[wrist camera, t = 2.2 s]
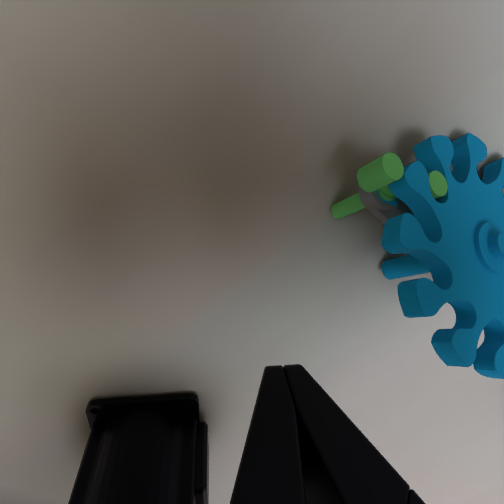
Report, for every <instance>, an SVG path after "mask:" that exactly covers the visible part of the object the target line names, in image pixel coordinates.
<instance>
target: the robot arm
mask: <svg viewBox="0 0 504 504" xmlns="http://www.w3.org/2000/svg"><path fill="white" fill-rule="evenodd" d="M86 414H87V417H88V421H89V425H90V428H91V432H90V435H89V438H88V442H87V445H86V448H85V451H84V455H83V458H82V461H81V464H80V467H79V471H78V474H77V477H76V480H75V484H74V487H73V490H72V493H71V497H70V500H69V503H68V504H208V503H209V444H208V425H207V424H206V423H205V422H204V421H203V422H200V410H199V398H198V396H197V395H195V394H178V395H161V396H145V397H129V398H112V399H96V400H91V401H90V402H89V403H88V405H87V408H86ZM230 504H425V503H424V501H423V500H422V499H421V498H420V497H419V496H418V495H417V494H416V492H415V491H414V490H412V489H410V486H409V485H408V484H407V483H406V481H405V480H404V479H403V478H402V477H401V476H400V475H399V474H398V473H397V471H396V470H395V469H394V468H393V467H392V466H391V465H390V464H389V462H388V461H387V460H386V459H385V458H384V457H383V456H382V455H381V453H380V452H379V451H378V450H377V449H376V448H375V447H374V446H373V445H372V443H371V442H370V441H369V440H368V439H367V438H366V437H365V436H364V434H363V433H362V432H361V431H360V430H359V429H358V428H357V427H356V426H355V424H354V423H353V422H352V421H351V420H350V419H349V418H348V417H347V415H346V414H345V413H344V412H343V411H342V410H341V409H340V408H339V406H338V405H337V404H336V403H335V402H334V401H333V400H332V399H331V398H330V396H329V395H328V394H327V393H326V392H325V391H324V390H323V389H322V387H321V386H320V385H319V384H318V383H317V382H316V381H315V380H314V379H313V377H312V376H311V375H310V374H309V373H308V372H307V371H306V370H305V368H304V367H303V366H302V365H300V364H294V365H285V366H284V367H282V366H281V365H277V366H266V367H265V369H264V373H263V376H262V380H261V384H260V388H259V392H258V396H257V400H256V404H255V407H254V411H253V415H252V419H251V423H250V427H249V431H248V435H247V438H246V442H245V446H244V450H243V454H242V458H241V462H240V466H239V469H238V473H237V477H236V481H235V485H234V489H233V493H232V497H231V500H230Z"/></svg>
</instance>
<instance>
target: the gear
mask: <svg viewBox="0 0 504 504" xmlns="http://www.w3.org/2000/svg"><path fill="white" fill-rule="evenodd" d="M414 153H415V157H416V159H417V161H415V162H413V163H411V164H409V165H407V166H405V167H403V164H402V161H401V160H400V158H399V157H398V156H397V155H396V154H394V153H391V152H388V153H386V154H384V155H382V156H380V157H379V158H377V159H375V160H373V161H372V162H370V163H368V164H366V165H365V166H363V167H361V168H360V169H359V170H358V172H357V181H358V184H359V187H358V193H356V194H354V195H352V196H350V197H348V198H346V199H344V200H342V201H340V202H338V203H336V204H334V205H333V206H332V207H331V213H332V215H333V217H334V218H336V219H341V218H343V217H345V216H348V215H350V214H352V213H355V212H357V211H359V210H362V209H364V208H366V209H367V210H368V211H369V212H370V213H371V214H373V215H374V216H375V217H376V218H377V219H378V220H379V221H380V222H381V223H382V224H384V228H383V235H382V247H383V248H384V249H385V250H386V251H387V252H389V253H391V254H399V253H401V254H407V255H405V256H401V257H397V258H393V259H389V260H386V261H384V262H383V264H382V272H383V274H384V276H385V277H386V278H387V279H396V278H401V277H407V276H412V275H417V274H423V273H428V272H431V274H432V277H433V281H431V280H430V279H427V278H420V279H415V280H409V281H403V282H401V283H399V285H398V296H399V301H400V304H401V308H402V310H403V313H404V316H406V317H409V318H413V317H428V316H433V315H435V314H436V313H437V312H438V310H439V309H440V308H441V307H442V306H443V305H444V304H445V303H446V302H447V303H449V304H451V306H452V307H453V308H454V310H455V313H456V323H455V326H454V327H453V328H452V329H439V330H437V331H436V332H435V333H434V335H433V337H432V341H431V343H432V345H433V348H434V350H435V351H436V353H437V354H438V356H439V357H440V358H441V360H442V361H443V362H444V363H445V364H446V365H447V366H461V367H469V366H471V365H472V364H473V365H474V369H475V370H476V371H477V372H478V373H480V374H481V375H483V376H486V377H491V378H499V379H504V195H503V192H502V189H503V188H504V158H501V159H499V160H496V161H494V162H492V163H489V164H487V165H486V166H485V167H484V172H483V178H482V181H481V180H480V178H479V176H478V174H477V164H478V163H479V162H480V161H482V160H484V159H485V158H486V155H487V148H486V145H485V144H484V143H483V142H482V141H481V140H480V139H479V138H477V137H476V136H474V135H473V134H471V133H468V134H466V135H464V136H462V137H460V138H458V139H456V140H454V141H452V142H451V140H450V139H449V138H448V137H446V136H431V137H430V138H428V139H426V140H424V141H422V142H420V143H419V144H417V145H415V146H414ZM451 161H452V168H453V171H452V173H451V170H450V164H451ZM483 329H484V334H485V338H484V342H483V343H482V345H481V346H480V347H479V348H478V349H477V344H478V340H479V337H480V334H481V332H482V330H483Z"/></svg>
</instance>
